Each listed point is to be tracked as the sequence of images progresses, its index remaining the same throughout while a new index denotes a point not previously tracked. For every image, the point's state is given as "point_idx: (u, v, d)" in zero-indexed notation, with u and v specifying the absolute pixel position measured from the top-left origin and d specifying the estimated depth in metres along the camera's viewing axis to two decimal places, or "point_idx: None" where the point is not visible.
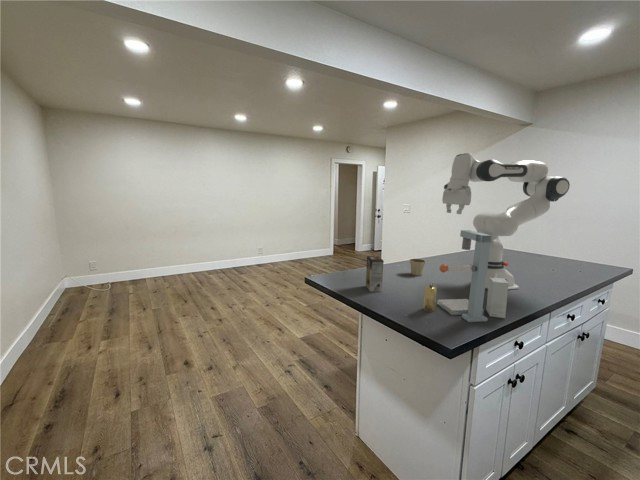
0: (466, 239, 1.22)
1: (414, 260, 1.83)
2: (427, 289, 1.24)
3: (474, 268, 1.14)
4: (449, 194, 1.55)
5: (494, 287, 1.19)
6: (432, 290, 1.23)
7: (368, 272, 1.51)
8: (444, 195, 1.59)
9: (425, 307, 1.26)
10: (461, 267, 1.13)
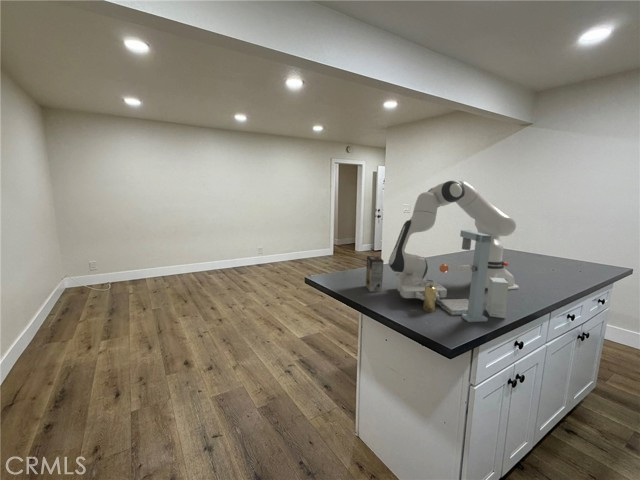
0: (466, 239, 1.22)
1: None
2: (427, 289, 1.24)
3: (474, 268, 1.14)
4: None
5: (494, 287, 1.19)
6: (432, 290, 1.23)
7: (368, 272, 1.51)
8: None
9: (425, 307, 1.26)
10: (461, 267, 1.13)
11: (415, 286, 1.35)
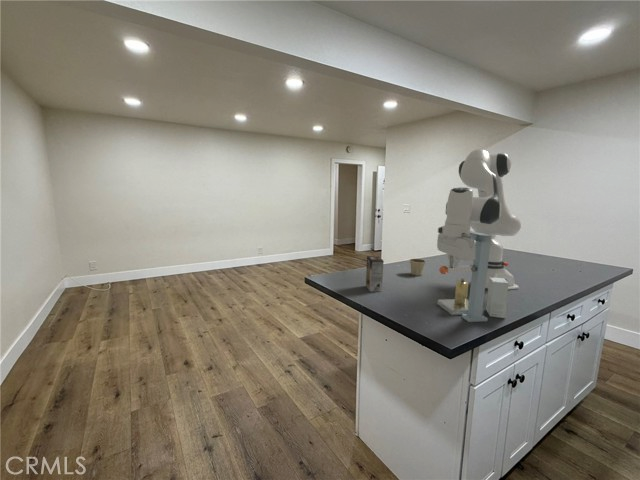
0: None
1: (414, 260, 1.83)
2: (459, 284, 1.26)
3: (474, 268, 1.14)
4: (445, 240, 1.17)
5: (494, 287, 1.19)
6: (464, 285, 1.25)
7: (368, 272, 1.51)
8: (439, 240, 1.20)
9: (457, 302, 1.27)
10: (461, 268, 1.14)
11: None
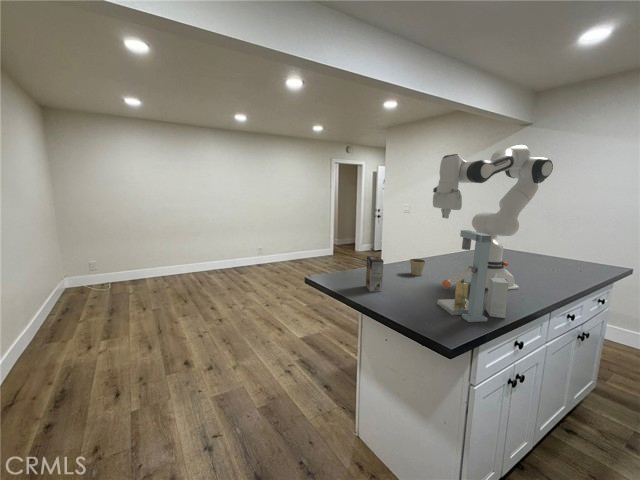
0: (466, 239, 1.22)
1: (414, 260, 1.83)
2: (459, 284, 1.26)
3: (474, 270, 1.14)
4: (439, 198, 1.47)
5: (494, 287, 1.19)
6: (464, 285, 1.25)
7: (368, 272, 1.51)
8: (434, 199, 1.51)
9: (457, 302, 1.27)
10: (461, 275, 1.14)
11: None
